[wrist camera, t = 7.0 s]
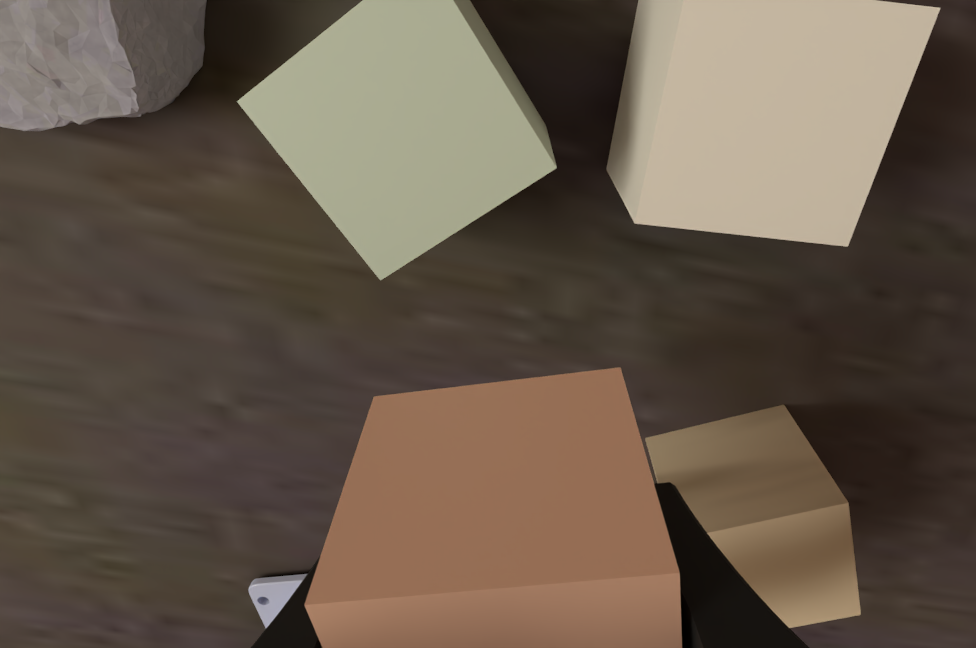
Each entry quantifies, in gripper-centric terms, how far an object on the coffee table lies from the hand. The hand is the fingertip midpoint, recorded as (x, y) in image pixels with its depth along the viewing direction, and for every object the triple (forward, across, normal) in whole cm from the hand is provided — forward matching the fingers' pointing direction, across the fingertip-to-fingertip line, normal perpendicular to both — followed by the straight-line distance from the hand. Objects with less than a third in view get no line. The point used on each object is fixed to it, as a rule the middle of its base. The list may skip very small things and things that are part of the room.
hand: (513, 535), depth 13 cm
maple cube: (+10, -7, +8) cm, 15 cm away
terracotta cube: (+2, 0, 0) cm, 2 cm away
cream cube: (+10, -6, -6) cm, 13 cm away
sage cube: (+10, +2, -7) cm, 12 cm away
